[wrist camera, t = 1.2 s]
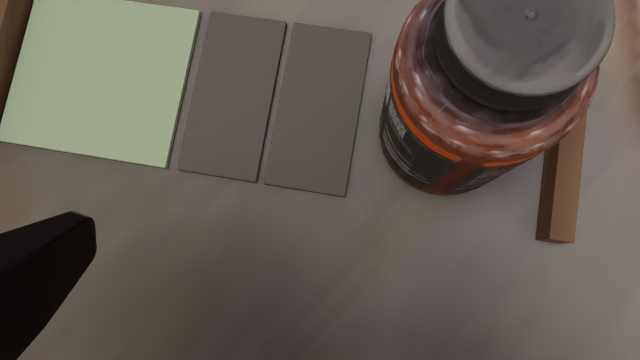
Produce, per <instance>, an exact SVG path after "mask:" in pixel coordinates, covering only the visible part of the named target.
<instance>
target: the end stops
mask: <svg viewBox="0 0 640 360" xmlns="http://www.w3.org/2000/svg"><path fill="white" fill-rule="evenodd" d="M32 2H33V0H0V119H1V116H2V112H3V108H4V105H5V101H6V97H7V94H8V90H9V86H10V83H11V79H12V75H13V72H14V68H15V64H16V61H17V57H18V53H19V50H20V46H21V42H22V39H23V35H24V31H25V27H26V24H27V20H28V16H29V13H30V9H31V5H32ZM586 116H587V110H586V112H585V114H584V116H583V117H582V118H581V120H580V121H579V123H578V124H577V125H576V126H575V127H574V128H573V129H572V130H571V131H570V133H569V134H568V135H567V136H565V137H564V138H563V139H562V140H560V141H559V142H558V143H556V144H555V145H553V146H552V147H550V148H549V149H547V150H545V157H544V166H543V176H542V185H541V194H540V203H539V213H538V222H537V231H536V240H540V241H546V242H553V243H574V241H575V230H576V220H577V210H578V199H579V189H580V179H581V168H582V158H583V147H584V137H585V127H586Z"/></svg>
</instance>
